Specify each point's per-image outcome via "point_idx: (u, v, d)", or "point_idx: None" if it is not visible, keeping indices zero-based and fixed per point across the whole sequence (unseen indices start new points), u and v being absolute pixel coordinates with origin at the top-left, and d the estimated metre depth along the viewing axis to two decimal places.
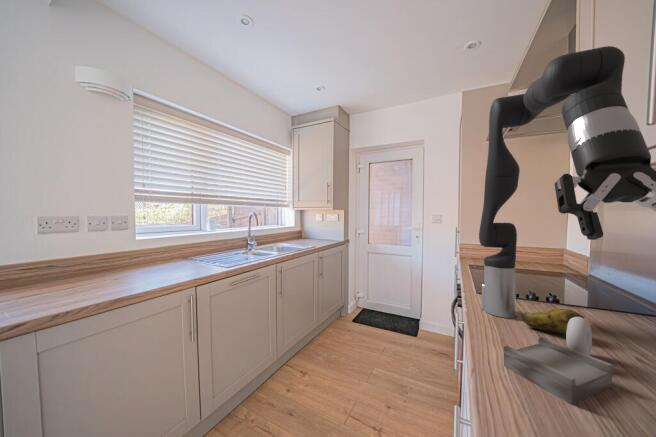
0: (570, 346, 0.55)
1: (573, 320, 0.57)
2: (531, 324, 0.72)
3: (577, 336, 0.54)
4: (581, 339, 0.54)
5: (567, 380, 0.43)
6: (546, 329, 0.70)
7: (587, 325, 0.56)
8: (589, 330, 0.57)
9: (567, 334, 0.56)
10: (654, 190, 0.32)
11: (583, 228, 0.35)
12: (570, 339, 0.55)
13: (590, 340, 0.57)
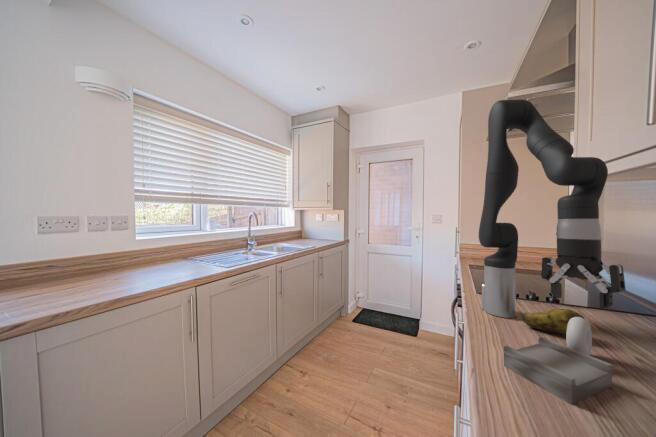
0: (570, 346, 0.55)
1: (573, 320, 0.57)
2: (531, 324, 0.72)
3: (577, 336, 0.54)
4: (581, 339, 0.54)
5: (567, 380, 0.43)
6: (546, 329, 0.70)
7: (587, 325, 0.56)
8: (589, 330, 0.57)
9: (567, 334, 0.56)
10: (587, 278, 0.55)
11: None
12: (570, 339, 0.55)
13: (590, 340, 0.57)
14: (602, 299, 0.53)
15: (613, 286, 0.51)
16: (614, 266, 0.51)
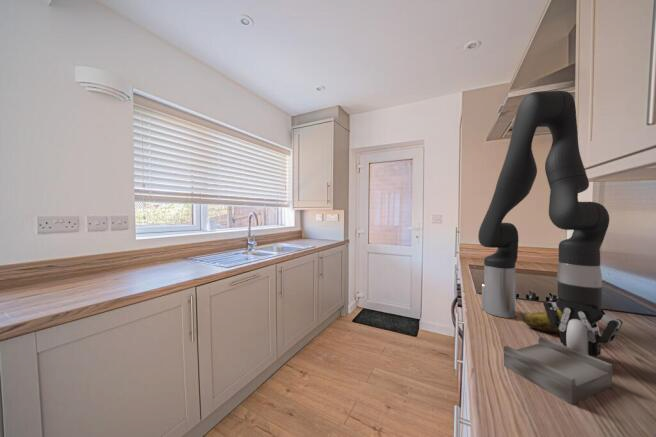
0: (570, 346, 0.55)
1: (573, 320, 0.57)
2: (531, 324, 0.72)
3: (577, 336, 0.54)
4: (581, 339, 0.54)
5: (567, 380, 0.43)
6: (546, 329, 0.70)
7: None
8: None
9: (567, 334, 0.56)
10: None
11: None
12: (570, 339, 0.55)
13: None
14: (591, 348, 0.55)
15: (601, 337, 0.53)
16: (615, 323, 0.51)
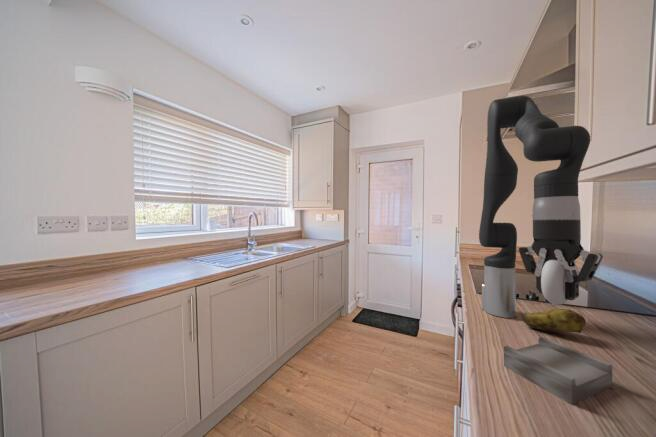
0: (545, 288, 0.49)
1: (549, 261, 0.50)
2: (531, 324, 0.72)
3: (552, 276, 0.48)
4: (557, 279, 0.48)
5: (567, 380, 0.43)
6: (546, 329, 0.70)
7: None
8: None
9: (542, 275, 0.50)
10: None
11: None
12: (545, 280, 0.49)
13: None
14: (568, 289, 0.48)
15: (579, 274, 0.46)
16: (593, 255, 0.45)
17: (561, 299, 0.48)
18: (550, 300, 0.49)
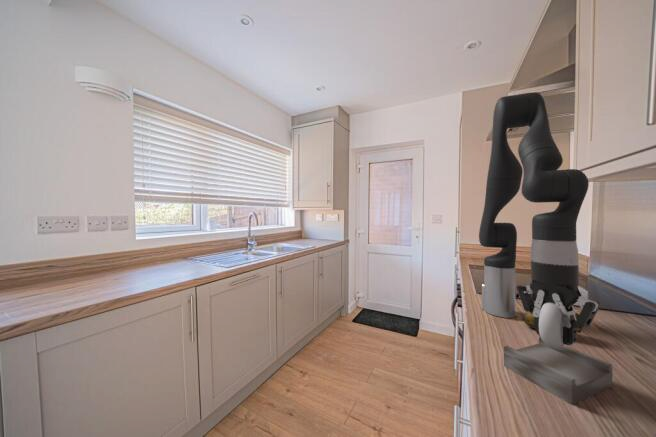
0: (542, 332, 0.49)
1: (547, 303, 0.50)
2: (530, 324, 0.72)
3: (550, 321, 0.48)
4: (554, 324, 0.48)
5: (567, 380, 0.43)
6: None
7: None
8: None
9: (539, 319, 0.50)
10: None
11: None
12: (543, 324, 0.49)
13: None
14: (565, 334, 0.48)
15: (576, 321, 0.46)
16: (591, 304, 0.44)
17: (558, 344, 0.48)
18: (548, 344, 0.49)
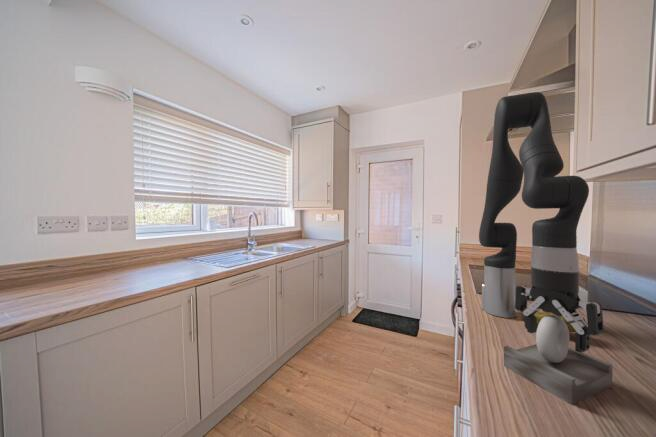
0: (539, 347, 0.49)
1: (545, 318, 0.51)
2: None
3: (546, 336, 0.49)
4: (550, 339, 0.48)
5: (567, 380, 0.43)
6: None
7: (560, 324, 0.50)
8: (565, 330, 0.51)
9: (537, 333, 0.50)
10: (562, 315, 0.48)
11: None
12: (539, 339, 0.49)
13: (566, 341, 0.51)
14: (578, 341, 0.46)
15: (590, 328, 0.45)
16: (591, 305, 0.44)
17: (556, 359, 0.48)
18: (545, 358, 0.50)
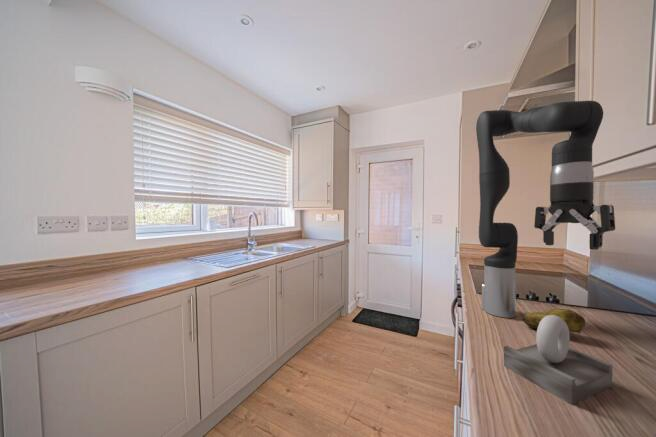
0: (539, 347, 0.49)
1: (545, 318, 0.51)
2: (530, 324, 0.72)
3: (546, 336, 0.48)
4: (551, 339, 0.48)
5: (567, 380, 0.43)
6: None
7: (561, 324, 0.49)
8: (565, 330, 0.51)
9: (537, 333, 0.50)
10: (578, 221, 0.55)
11: None
12: (540, 339, 0.49)
13: (567, 342, 0.51)
14: (592, 240, 0.54)
15: (603, 225, 0.52)
16: (605, 205, 0.52)
17: (556, 359, 0.48)
18: (545, 359, 0.50)
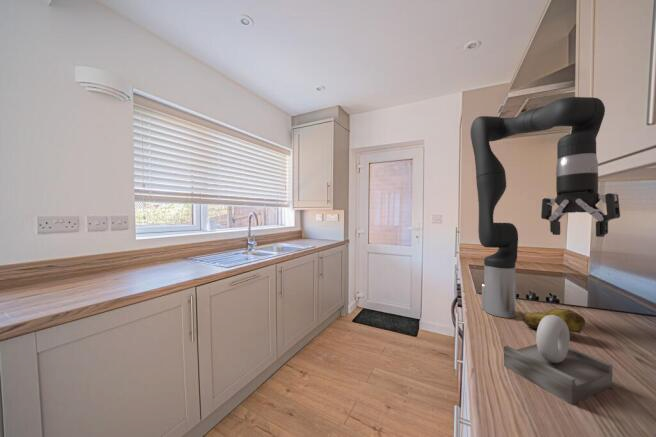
0: (539, 347, 0.49)
1: (545, 318, 0.51)
2: (530, 324, 0.72)
3: (546, 336, 0.48)
4: (551, 339, 0.48)
5: (567, 380, 0.43)
6: None
7: (561, 324, 0.49)
8: (565, 330, 0.51)
9: (537, 333, 0.50)
10: (584, 210, 0.58)
11: None
12: (540, 339, 0.49)
13: (567, 342, 0.51)
14: (598, 227, 0.56)
15: (608, 213, 0.55)
16: (610, 194, 0.54)
17: (556, 359, 0.48)
18: (545, 359, 0.50)
